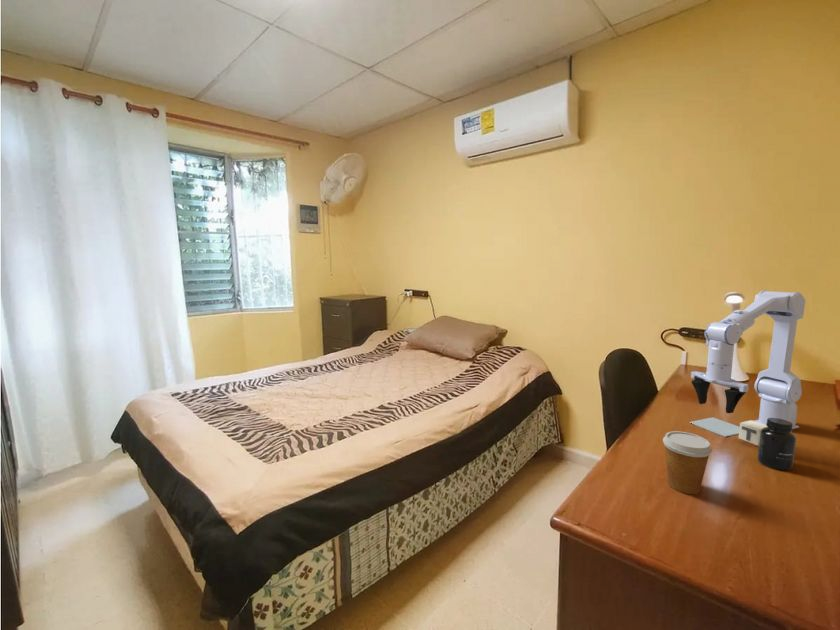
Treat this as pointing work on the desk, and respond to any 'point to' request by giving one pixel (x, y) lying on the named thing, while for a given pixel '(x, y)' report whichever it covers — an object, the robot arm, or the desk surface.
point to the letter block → (750, 431)
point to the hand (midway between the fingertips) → (715, 407)
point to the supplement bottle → (777, 444)
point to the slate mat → (717, 426)
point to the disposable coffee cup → (686, 460)
